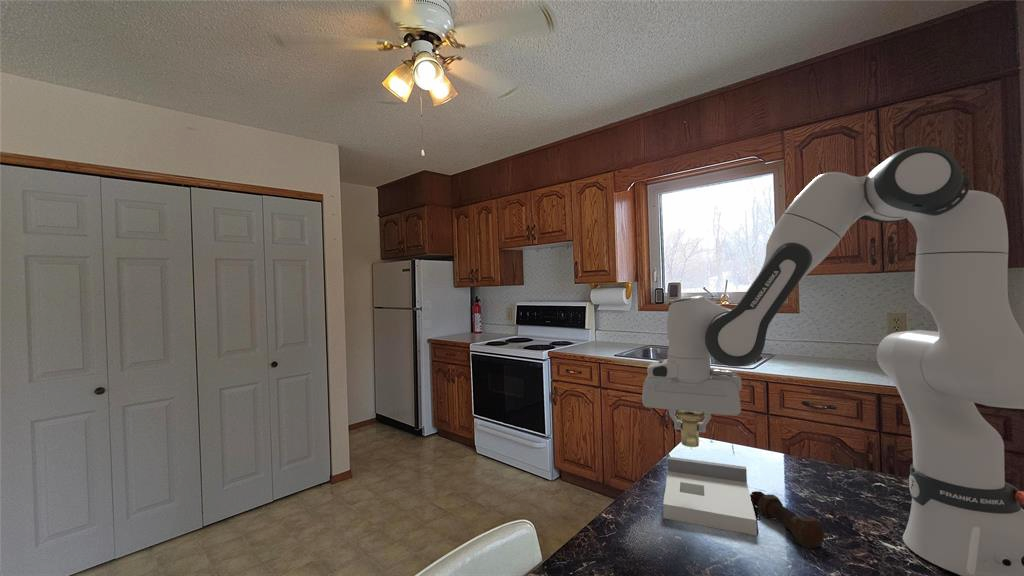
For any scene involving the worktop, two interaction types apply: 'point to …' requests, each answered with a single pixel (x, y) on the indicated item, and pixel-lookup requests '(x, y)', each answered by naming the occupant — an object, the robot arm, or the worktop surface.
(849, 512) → the worktop surface
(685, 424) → the bushing
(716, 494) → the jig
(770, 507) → the bolt
